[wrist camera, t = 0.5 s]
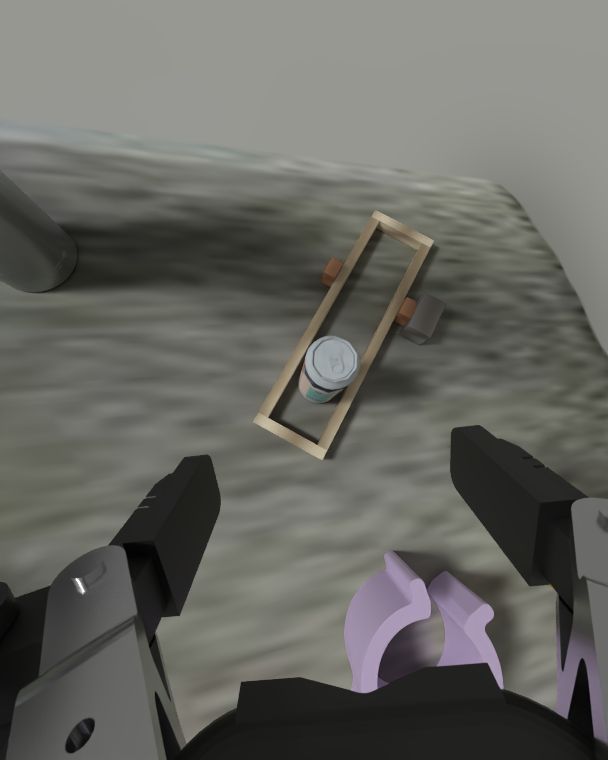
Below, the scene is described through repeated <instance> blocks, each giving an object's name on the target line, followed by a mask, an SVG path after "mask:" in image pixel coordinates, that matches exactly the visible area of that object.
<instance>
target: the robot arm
mask: <svg viewBox="0 0 608 760" xmlns="http://www.w3.org/2000/svg"><path fill="white" fill-rule="evenodd" d="M77 256H78V255H77V248H76V245H75V243H74V241H73V240H72V238H71V237H70V236H69V235H68V234H67V233H66V232H65V231H64V230H63V229H62V228H61V227H60V226H58V225H57V224H56V223H55V222H54V221H53V220H52V219H51V218H50V217H49V216H48V215H47V214H46V213H45V212H44V211H43V210H42V209H41V208H40V207H39V206H38V205H37V204H36V203H34V202H33V201H32V200H31V199H30V198H29V197H28V196H27V195H26V194H25V193H24V192H23V191H22V190H21V189H20V188H19V187H18V186H17V185H15V184H14V183H13V182H12V181H11V180H10V179H9V178H8V177H7V176H6V175H5V174H4V173H3V172H2V171H1V170H0V280H1V281H3V282H4V283H6V284H8V285H10V286H12V287H14V288H15V289H18V290H21V291H24V292H42V291H46V290H50V289H52V288H54V287H56V286H58V285H60V284H61V283H62V282H64V281H65V280H66V279H67V278H68V277H69V276H70V275H71V273H72V272H73V270H74V268H75V265H76V263H77ZM450 472H451V478H452V481H453V484H454V486H455V488H456V490H457V491H458V492H459V494H460V495H461V496H462V498H463V499H464V500H465V502H466V503H467V504H468V506H469V507H470V508H471V510H472V511H473V512H474V514H475V515H476V516H477V518H478V519H479V520H480V522H481V523H482V524H483V526H484V527H485V528H486V530H487V531H488V532H489V533H490V535H491V536H492V537H493V539H494V540H495V541H496V543H497V544H498V545H499V547H500V548H501V549H502V551H503V552H504V553H505V555H506V556H507V557H508V559H509V560H510V561H511V563H512V564H513V565H514V567H515V568H516V569H517V571H518V572H519V573H520V574H521V576H522V577H523V578H524V580H525V581H526V582H527V584H528V585H529V586H539V585H550V584H551V586H552V587H553V588H554V589H555V590H556V592H557V597H556V637H557V673H558V694H557V708H556V712H554V711H553V710H551V709H549V708H548V707H546V706H543V705H541V704H539V703H537V702H535V701H533V700H531V699H529V698H527V697H524V696H522V695H519V694H516V693H513V692H511V691H508V690H504V689H500V687H499V685H498V683H497V681H496V679H495V677H494V675H493V673H492V671H491V669H490V667H489V664H488V662H487V663H474V664H462V665H449V666H436V667H425V668H423V669H421V670H418V671H416V672H414V673H412V674H410V675H407V676H405V677H403V678H401V679H398V680H396V681H394V682H392V683H390V684H387V685H385V686H383V687H381V688H378V689H376V690H374V691H372V692H369V693H359V692H355V691H351V690H347V689H343V688H339V687H336V686H332V685H328V684H324V683H320V682H316V681H313V680H309V679H305V678H301V677H297V678H284V679H272V680H259V681H246V682H241V686H240V692H239V698H238V704H237V708H235V709H233V710H231V711H229V712H227V713H226V714H224V715H222V716H221V717H219V718H218V719H216V720H214V721H213V722H212V723H210V724H209V725H208V726H207V727H205V728H204V729H203V730H202V731H200V732H199V733H198V734H197V735H196V736H195V737H194V738H193V739H192V740H191V741H190V742H189V743H187V744H186V741H185V738H184V735H183V732H182V729H181V725H180V722H179V719H178V715H177V711H176V708H175V704H174V700H173V695H172V691H171V687H170V683H169V679H168V675H167V671H166V667H165V663H164V659H163V655H162V651H161V647H160V643H159V639H158V636H157V634H156V629H157V627H158V624H159V622H160V620H161V617H171V616H180V614H181V611H182V608H183V606H184V603H185V601H186V598H187V595H188V593H189V590H190V588H191V585H192V582H193V580H194V577H195V575H196V572H197V569H198V567H199V564H200V562H201V559H202V556H203V554H204V551H205V549H206V546H207V543H208V541H209V538H210V536H211V533H212V530H213V528H214V525H215V523H216V520H217V517H218V515H219V512H220V505H221V498H220V492H219V488H218V484H217V480H216V476H215V472H214V468H213V464H212V460H211V458H210V456H209V455H199V456H190V457H185V458H183V460H182V461H181V462H180V464H179V465H178V467H177V468H176V469H175V471H174V472H173V473H172V474H168V475H167V476H166V477H164V478H163V479H162V480H160V481H159V482H158V483H157V484H155V485H154V487H153V488H152V489H151V491H150V492H149V493H148V494H147V496H146V499H144V500H143V501H142V502H141V504H140V505H139V506H138V509H136V510H135V511H134V513H133V514H132V515H131V517H130V518H129V519H128V520H127V522H126V523H125V524H124V526H123V527H122V528H121V529H120V531H119V532H118V533H117V535H116V536H115V537H114V539H113V540H112V541H111V542H110V544H109V545H108V546H104V547H100V548H97V549H94V550H92V551H90V552H88V553H86V554H84V555H82V556H81V557H79V558H78V559H76V560H75V561H73V562H72V563H71V564H69V565H68V566H67V567H66V568H65V569H64V570H63V571H62V572H61V573H60V574H59V575H58V576H57V577H56V578H55V580H54V581H53V583H52V585H51V586H48V587H45V588H43V589H40V590H37V591H34V592H31V593H28V594H25V595H22V596H20V597H17V598H15V597H14V596H13V594H12V592H11V590H10V588H9V587H8V585H7V584H6V583H4V582H0V760H608V499H602V498H589V497H587V496H586V495H585V494H583V493H582V492H580V491H579V490H578V489H576V488H575V487H574V486H572V485H571V484H570V483H568V482H567V481H565V480H564V479H563V478H561V477H560V476H559V475H557V474H556V473H555V472H553V471H552V470H550V469H549V468H548V467H546V468H545V466H544V464H542V463H541V462H540V461H538V460H537V459H533V456H531V455H530V454H529V453H527V452H526V451H525V450H523V449H522V448H520V447H519V446H517V445H515V444H512V443H510V442H507V441H505V440H503V439H497V438H496V437H495V436H493V435H492V434H491V433H489V432H488V431H487V430H486V429H484V428H483V427H482V426H480V425H475V426H466V427H457V428H453V430H452V432H451V460H450Z"/></svg>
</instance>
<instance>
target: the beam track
mask: <svg viewBox="0 0 608 760" xmlns="http://www.w3.org/2000/svg"><path fill="white" fill-rule="evenodd" d="M376 229H378V230H380V231H382V232H384V233H385V234H387V235H389V236H391V237H393V238H395V239H397V240H399V241H401V242H403V243H405V244H406V245H408V246H410V247H412V248H414V249H416V250H417V252H416V254H415V256H414V258H413V260H412V262H411V264H410V266H409V268H408V270H407V272H406V273H405V275H404V277H403V279H402V281H401V283H400V285H399V287H398V289H397V291H396V293H395V295H394V297H393V298H392V300H391V302H390V304H389V306H388V308H387V310H386V312H385V314H384V316H383V318H382V320H381V322H380V324H379V325H378V327H377V329H376V331H375V333H374V335H373V337H372V339H371V341H370V343H369V345H368V347H367V349H366V351H365V352H364V354H363V356H362V358H361V360H360V368H359V371H358V374H357V376H356V378H355V379H354V380H353V382H351V383H350V384H349V385H348V386H347V387H346V389H345V391H344V393H343V395H342V397H341V399H340V401H339V403H338V405H337V406H336V408H335V410H334V412H333V414H332V416H331V418H330V420H329V422H328V424H327V426H326V428H325V430H324V432H323V433H322V435H321V437H320V439H319V441H318V443H317V445H316V444H314V443H313V442H311V441H309V440H307V439H305V438H304V437H302V436H300V435H298V434H296V433H295V432H293V431H291V430H289V429H287V428H286V427H284V426H282V425H280V424H278V423H277V422H275V421H273V420H271V419H269V417H270V415H271V413H272V411H273V409H274V408H275V406H276V404H277V402H278V401H279V399H280V397H281V395H282V394H283V392H284V390H285V388H286V387H287V385H288V383H289V381H290V379H291V378H292V376H293V374H294V372H295V371H296V369H297V367H298V365H299V364H300V362H301V360H302V358H303V357H304V355H305V353H306V351H307V349H308V348H309V346H310V344H311V342H312V341H313V339H314V337H315V335H316V334H317V332H318V330H319V328H320V327H321V325H322V323H323V321H324V319H325V318H326V316H327V314H328V312H329V311H330V309H331V307H332V305H333V304H334V302H335V300H336V298H337V297H338V295H339V293H340V291H341V290H342V288H343V286H344V284H345V282H346V281H347V279H348V277H349V275H350V274H351V272H352V270H353V268H354V267H355V265H356V263H357V261H358V260H359V258H360V256H361V254H362V252H363V251H364V249H365V247H366V245H367V244H368V242H369V240H370V238H371V237H372V235H373V233H374V231H375V230H376ZM433 242H434V240H432V239H430V238H428V237H426V236H424V235H422V234H420V233H418V232H416V231H415V230H413V229H411V228H409V227H407V226H405V225H403V224H401V223H399V222H397V221H395V220H393V219H392V218H390V217H388V216H386V215H384V214H382V213H380V212H378V211H376V210H375V212H374V213H373V215H372V217H371V219H370V220H369V222H368V224H367V226H366V227H365V229H364V231H363V232H362V234H361V236H360V238H359V239H358V241H357V243H356V245H355V246H354V248H353V250H352V252H351V253H350V255H349V257H348V258H347V260H346V262H345V264H344V265H343V262H341V261H339V260H337V259H335V258H333V257H332V258H331V260H330V261H329V263H328V265H327V267H326V268H325V270H324V272H323V275H322V279H321V283H323V284H325V285H327V286H328V287H330V290H329V291H328V293H327V295H326V297H325V298H324V300H323V302H322V303H321V305H320V307H319V309H318V310H317V312H316V314H315V316H314V317H313V319H312V321H311V323H310V324H309V326H308V328H307V329H306V331H305V333H304V335H303V336H302V338H301V340H300V342H299V343H298V345H297V347H296V349H295V350H294V352H293V354H292V355H291V357H290V359H289V361H288V362H287V364H286V366H285V368H284V369H283V371H282V373H281V375H280V376H279V378H278V380H277V381H276V383H275V385H274V387H273V388H272V390H271V392H270V394H269V395H268V397H267V399H266V401H265V402H264V404H263V406H262V407H261V409H260V411H259V413H258V414H257V416H256V418H255V420H254V421H253V422H254V423H256V424H258V425H260V426H262V427H263V428H265V429H267V430H269V431H271V432H272V433H274V434H276V435H278V436H280V437H281V438H283V439H285V440H287V441H289V442H290V443H292V444H294V445H296V446H298V447H299V448H301V449H303V450H305V451H307V452H308V453H310V454H312V455H314V456H316V457H317V458H319V459H321V460H323V458H324V456H325V454H326V452H327V450H328V448H329V446H330V444H331V442H332V440H333V438H334V436H335V434H336V432H337V430H338V428H339V426H340V425H341V423H342V421H343V419H344V417H345V415H346V413H347V411H348V409H349V407H350V405H351V403H352V401H353V399H354V397H355V395H356V393H357V391H358V389H359V387H360V385H361V383H362V381H363V379H364V377H365V375H366V373H367V371H368V369H369V367H370V365H371V364H372V362H373V360H374V358H375V356H376V354H377V352H378V350H379V348H380V346H381V344H382V342H383V340H384V338H385V336H386V334H387V332H388V330H389V328H390V326H391V324H392V322H393V321H394V322H396V323H398V324H400V325H401V326H403V327H402V329H401V331H400V333H399V335H401V336H403V337H405V338H406V339H408V340H410V341H412V342H414V343H416V344H418V345H421V344H422V343H424V342H425V341H426V340H428V339H429V338H431V336H432V334H433V331H434V329H435V327H436V325H437V323H438V321H439V319H440V317H441V314H442V312H443V310H444V308H445V306H446V304H445V303H443V302H442V301H440V300H438V299H436V298H434V297H432V296H430V295H428V294H426V293H424V294H423V295H422V296H421V297H420V298H419V299H418V300H417V301H414V300H412V299H410V298H409V297H407V298H406V299H405V297H406V295H407V293H408V291H409V289H410V287H411V285H412V283H413V281H414V279H415V277H416V275H417V273H418V271H419V269H420V267H421V265H422V263H423V261H424V259H425V257H426V255H427V253H428V251H429V249H430V247H431V246H432V244H433ZM342 266H343V267H342ZM341 268H342V269H341ZM404 299H405V300H404Z"/></svg>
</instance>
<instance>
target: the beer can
mask: <svg viewBox="0 0 608 760" xmlns="http://www.w3.org/2000/svg"><path fill="white" fill-rule="evenodd" d="M359 368H360V360H359V355H358V353H357V351H356V349H355V348H354V346H353V345H352V344H351V343H350V342H349V341H347V340H346V339H343V338H341V337H338V336H325V337H322V338H320V339H318V340H316V341H315V342H314V343H313V344H312V345H311V346H310V347H309V349H308V351H307V353H306V357H305V360H304V364H303V368H302V371H301V375H300V379H299V389H300V392H301V394H302V395H303V396H304V397H305V399H307V400H308V401H310V402H313V403H318V404H319V403H324V402H327V401H329V400H331V399H332V398H333V397H334V396H336V395H337V394H338V393H339V392H340V391H342V390H343V389H344V388H345V387H347V386H348V385H349V384H350V383H351V382H353V380H354V379H355V378H356V376H357V374H358V371H359Z"/></svg>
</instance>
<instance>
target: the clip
mask: <svg viewBox="0 0 608 760" xmlns="http://www.w3.org/2000/svg"><path fill="white" fill-rule="evenodd" d="M384 558H385V561H386V564H387V568H386V570H385V571H383V572H380V573H378V574H376V575H374V576H373V577H371V578H370V579H369V580H367V581H366V582H365V583H364V584H363V585H362V586H361V587H360V589H359V590H358V591H357V593H356V594H355V596H354V597H353V599H352V601H351V604H350V606H349V609H348V612H347V616H346V621H345V631H344V634H345V646H346V651H347V655H348V658H349V662H350V665H351V668H352V672H353V685H352V688H351V691H355V692H359V693H369V692H372V691H374V690H376V689H378V688H381V687H383V686H385V685H387V684H390V683H387V682H385V681H383V680H382V679H380V678H379V677H378V669H379V665H380V661H381V658H382V655H383V653H384V651H385V649H386V647H387V645H388V643H389V642H390V640H391V639H392V638H393V637H394V636H395V634H396V633H397V632H398V631H400V630H401V629H402V628H404V627H405V626H407V625H408V624H410V623H412V622H415V621H418V620H422V619H427V618H429V616H430V614H431V606H430V599H429V596H428V594H429V595H430V596H431V597H432V598H433V600H434V601H435V602H436V604H437V605H438V607H439V609H440V611H441V614H442V617H443V620H444V625H445V646H444V650H443V654H442V657H441V659H440V661H439V663H438V665H437V666H449V665H462V664H474V663H487V662H488V664H489V667H490V669H491V671H492V673H493V675H494V677H495V679H496V681H497V683H498V685H499V687H500V689H503V678H502V671H501V667H500V663H499V659H498V656H497V654H496V651H495V649H494V647H493V645H492V643H491V641H490V639H489V637H488V636H487V634H486V632H485V626H486V624H487V623H488V622H489V621H491V620H492V619H493V617H494V611H493V609H492V608H491V606H490V605H488V604H487V603H486V602H485V601H483V600H482V599H481V598H480V597H479V596H477V595H476V594H475V593H474V592H472V591H471V590H470V589H469V588H467V587H466V586H465V585H464V584H462V583H461V582H460V581H459V580H458V579H456V578H455V577H454V576H453V575H451V574H450V573H449V572H448V571H443V572H442V573H440V574H439V575H438V576H437V577H436V578H434V579H433V580H432V581H431V583H430V585H429V587H428V589H427V590H426V587H425V584H424V582H423V580H422V579H421V578H420V577H419V576H418V575H417V574H416V573H415V572H414V571H413V570H412V569H411V568H410V567H409V566H408V565H407V564H406V563H405V562H404V561H403V560H402V559H401V558H400V557H399V556H398V555H397V554H396V553H395V552H394V551H388V552H386V553H385V555H384ZM427 591H428V593H427Z"/></svg>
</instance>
